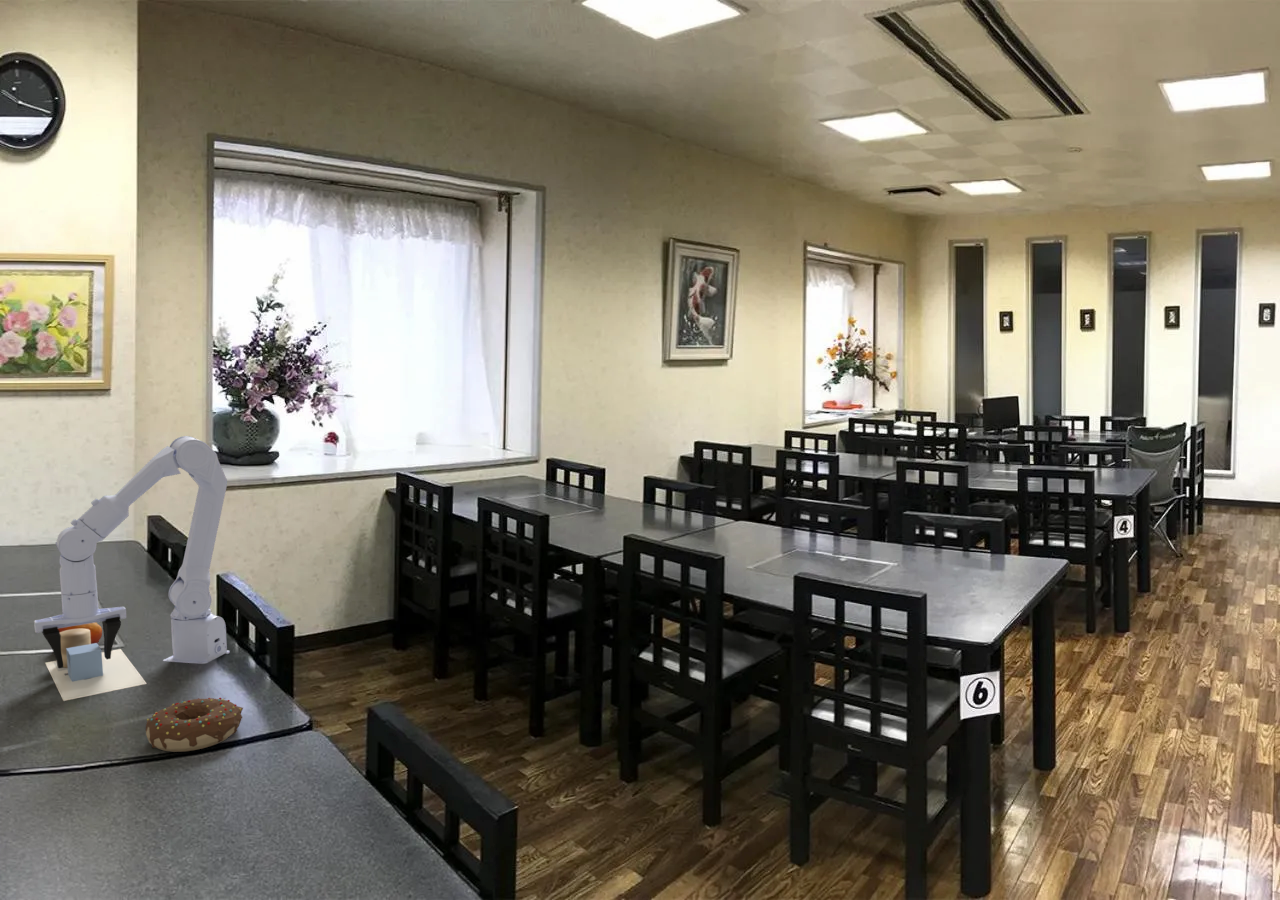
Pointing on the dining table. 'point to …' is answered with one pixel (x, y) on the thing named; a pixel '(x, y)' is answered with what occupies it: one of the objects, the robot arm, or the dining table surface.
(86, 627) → the fruit
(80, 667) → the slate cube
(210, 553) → the robot arm
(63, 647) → the wooden cylinder
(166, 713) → the donut
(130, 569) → the dining table surface
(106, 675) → the letter mat
